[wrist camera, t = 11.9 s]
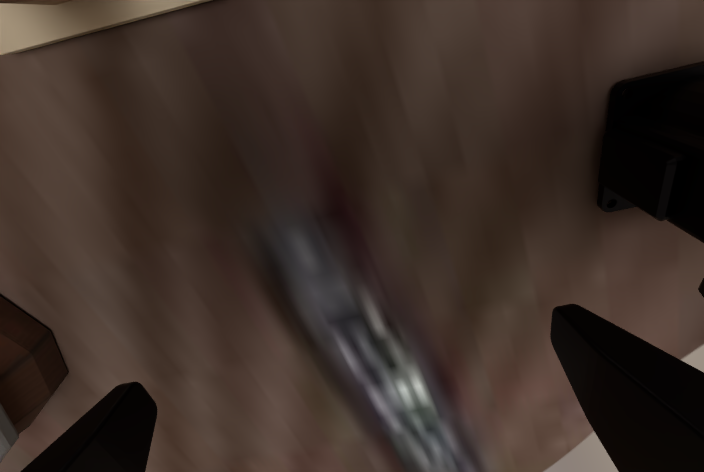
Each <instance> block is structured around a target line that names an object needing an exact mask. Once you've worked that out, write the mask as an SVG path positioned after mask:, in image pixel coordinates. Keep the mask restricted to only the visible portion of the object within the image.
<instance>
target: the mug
mask: <svg viewBox="0 0 704 472" xmlns="http://www.w3.org/2000/svg"><path fill="white" fill-rule="evenodd" d="M67 374H68V372H67V369H66V367H65V365H64V362H63V360H62V358H61V355H60V353H59V350H58V348H57V346H56V343H55V341H54V339H53V336H52V334H51V331H49V330H48V329H47V328H45V327H44V326H42V325H41V324H39V323H38V322H37V321H35V320H34V319H32V318H31V317H29V316H28V315H26V314H25V313H24V312H22V311H21V310H19V309H18V308H16V307H15V306H13V305H12V304H11V303H9V302H8V301H6V300H5V299H3V298H2V297H0V462H1V461H2V460H3V458H4V457H5V455H6V454H7V453H8V451H9V450H10V449H11V447H12V446H13V444H14V443H15V442H16V440H17V439H18V438H19V433H21V432H22V431H23V430H25V429H26V428H27V427H29V426H30V425H31V423H32V422H33V421H34V419H35V418H36V416H37V415H38V414H39V412H40V411H41V410H42V408H43V407H44V406H45V404H46V403H47V401H48V400H49V399H50V397H51V396H52V395H53V393H54V392H55V390H56V389H57V388H58V386H59V385H60V384H61V382H62V381H63V379H64V378H65V377H66V375H67Z"/></svg>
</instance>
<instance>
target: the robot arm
mask: <svg viewBox="0 0 704 472" xmlns="http://www.w3.org/2000/svg"><path fill="white" fill-rule="evenodd" d="M625 89H628V91H627V94H626V95H625V96H624V97H622V93H623V91H624V90H625ZM598 181H599V183H600V184H599V192H598V200H597V205H598V207H599V208H600V209H602V210H603V211H605V212H614V211H618V210H623V209H628V208H633V207H638V208H640V209H641V210H643V211H644V212H646V213H647V214H649V215H651V216H652V217H654V218H655V219H657V220H659V221H663V220H667V221H669V222H670V223H672V224H674V225H675V226H677V227H678V228H680V229H682V230H683V231H685V232H687V233H688V234H690V235H691V236H693V237H695V238H696V239H698V240H700V241H701V242H703V243H704V62H700V63H696V64H692V65H687V66H683V67H679V68H675V69H670V70H666V71H662V72H658V73H653V74H649V75H645V76H641V77H636V78H632V79H628V80H623V81H621V82H619V83H618V84H616V85H615V86H614V88H613V89H612V91H611V94H610V101H609V110H608V118H607V126H606V133H605V134H604V137H603V145H602V154H601V162H600V171H599V179H598ZM610 200H612V201H611V202H610V203H609V204H607V203H608V202H609V201H610ZM698 290H699V292H700V293H701V294H702V296H703V297H704V278H703V280H702V282H701V284H700V286H699V288H698ZM551 342H552V345H553V348H554V350H555V352H556V354H557V356H558V358H559V360H560V363H561V365H562V367H563V369H564V371H565V373H566V375H567V378H568V380H569V382H570V384H571V386H572V388H573V390H574V392H575V395H576V397H577V399H578V401H579V403H580V405H581V407H582V409H583V411H584V413H585V415H586V417H587V419H588V421H589V423H590V424H591V426H592V428H593V430H594V431H595V433H596V435H597V436H598V438H599V439H600V441H601V443H602V445H603V446H604V448H605V449H606V451H607V453H608V455H609V456H610V458H611V460H612V461H613V463H614V464H615V466H616V468H617V469H618V471H619V472H704V373H703V372H702V371H700V370H698V369H696V368H694V367H692V366H690V365H688V364H687V363H685V362H683V361H681V360H679V359H677V358H676V357H674V356H672V355H670V354H668V353H666V352H664V351H663V350H661V349H659V348H657V347H655V346H653V345H651V344H650V343H648V342H646V341H644V340H642V339H640V338H639V337H637V336H635V335H633V334H631V333H629V332H627V331H626V330H624V329H622V328H620V327H618V326H616V325H614V324H613V323H611V322H609V321H607V320H605V319H603V318H601V317H600V316H598V315H596V314H594V313H592V312H590V311H589V310H587V309H585V308H583V307H581V306H579V305H576V304H568V305H563V306H557V307H555V308H554V309H553V312H552V322H551ZM156 418H157V406H156V403H155V402H154V400H153V399H152V398H151V396H150V395H149V394H148V392H147V391H146V390H145V388H144V387H143V386H142V385H141V384H140V383H138V382H131V383H125V384H120V385H118V386H116V387H115V388H114V389H113V390H112V391H110V392H109V393H108V394H107V395H106V396H105V397H104V398H103V399H102V400H100V401H99V402H98V403H97V404H96V405H95V406H94V407H93V408H91V409H90V410H89V411H88V412H87V413H86V414H85V415H84V416H82V417H81V418H80V419H79V420H78V421H77V422H76V423H75V424H73V425H72V426H71V427H70V428H69V429H68V430H67V431H66V432H64V433H63V434H62V435H61V436H60V437H59V438H58V439H57V440H56V441H54V442H53V443H52V444H51V445H50V446H49V447H48V448H47V449H45V450H44V451H43V452H42V453H41V454H40V455H39V456H38V457H36V458H35V459H34V460H33V461H32V462H31V463H30V464H29V465H27V466H26V467H25V468H24V469H23V470H22V471H21V472H145V470H146V465H147V460H148V456H149V451H150V446H151V441H152V437H153V432H154V427H155V423H156Z"/></svg>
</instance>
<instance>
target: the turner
mask: <svg viewBox="0 0 704 472" xmlns="http://www.w3.org/2000/svg"><path fill="white" fill-rule="evenodd" d="M69 1H72V0H0V3H7V4H37V5H58V4H61V3H65V2H69Z"/></svg>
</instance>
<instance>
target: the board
mask: <svg viewBox="0 0 704 472" xmlns="http://www.w3.org/2000/svg"><path fill="white" fill-rule="evenodd" d="M208 1H211V0H72V1H69V2H65V3H61V4H58V5H37V4H7V3H0V55H6V54H14V53H19V52H23V51H27V50H30V49H34V48H38V47H41V46H45V45H49V44H53V43H56V42H60V41H64V40H67V39H71V38H75V37H78V36H82V35H86V34H89V33H93V32H97V31H101V30H104V29H108V28H112V27H115V26H119V25H123V24H126V23H130V22H134V21H137V20H141V19H145V18H149V17H152V16H156V15H160V14H163V13H167V12H171V11H174V10H178V9H182V8H186V7H189V6H193V5H197V4H200V3H204V2H208Z"/></svg>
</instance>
